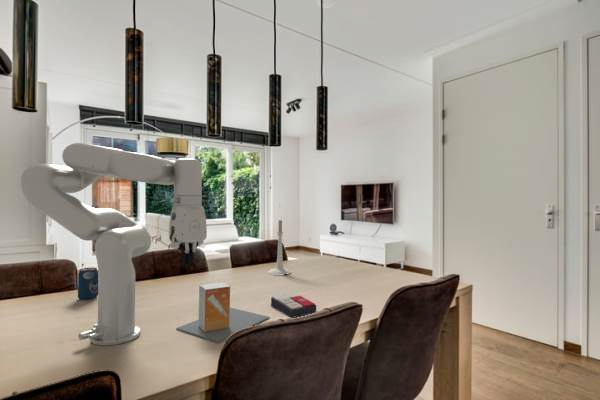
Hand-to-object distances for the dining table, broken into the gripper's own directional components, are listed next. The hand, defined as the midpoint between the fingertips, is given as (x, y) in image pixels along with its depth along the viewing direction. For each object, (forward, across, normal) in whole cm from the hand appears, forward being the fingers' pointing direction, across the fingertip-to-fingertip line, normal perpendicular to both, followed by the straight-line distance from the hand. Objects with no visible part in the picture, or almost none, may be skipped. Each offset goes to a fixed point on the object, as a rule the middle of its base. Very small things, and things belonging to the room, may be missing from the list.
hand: (187, 266), depth 95 cm
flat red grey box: (+22, +41, -10) cm, 47 cm away
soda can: (+21, +6, +66) cm, 69 cm away
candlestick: (+22, +89, +30) cm, 96 cm away
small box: (+21, +11, 0) cm, 24 cm away
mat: (+21, +16, 0) cm, 27 cm away
